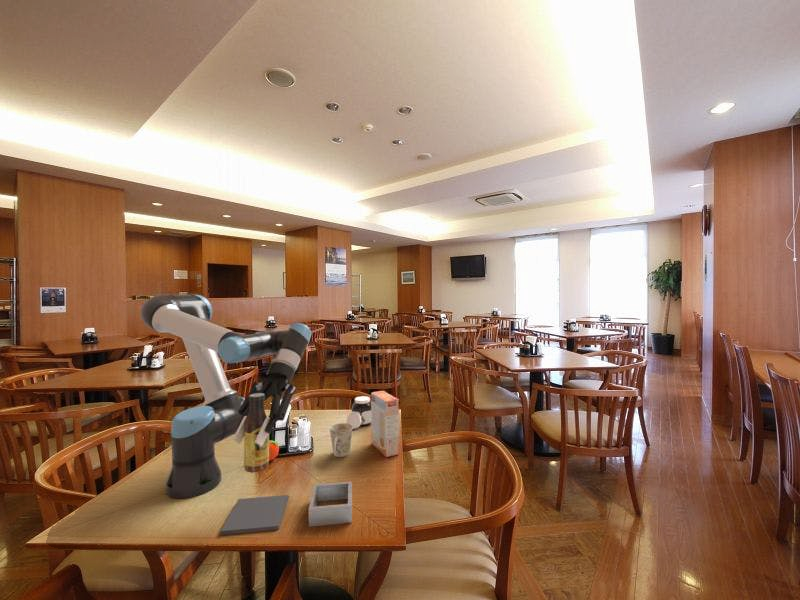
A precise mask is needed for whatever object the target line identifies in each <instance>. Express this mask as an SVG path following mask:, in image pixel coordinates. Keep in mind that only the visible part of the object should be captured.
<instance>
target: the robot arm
mask: <svg viewBox="0 0 800 600" xmlns="http://www.w3.org/2000/svg"><path fill="white" fill-rule="evenodd" d="M139 315H140V319H141V322H143V324H144V325H145V326H146V327H147V328H148V329H149V328H150V329H151V330H153V331H156V332H158V333H161V334H164V333H165V334H166V333H169V334H172V335H174V336H176V337H179V338H181V339H182V341H183V343H184V347H185V350H186V353H187V355H188V358H189V360H190V364H191V365H192V368H193V371H194V373H195V376H196V379H197V382H198V384H199V387H200V389H201V392H202V395H203V397H204V402H203V404H202V405H198V406H195V407H190V408H187V409H184V410H183V411H180V412H178V413H177V414H176V415H175V416H174V417H173V419H172V420H171V426H170V427H171V429H170V436H171V461H172V462H171V468H170V470H169V471H170V472H169V475H168V478H167V480H166V483H165V494H166V495H167V496H168V497H170V498H174V499H188V498H191V497H196V496H200V495H203V494H205V493H208V492H210V491H211V490H213V489H214V488H216V487H217V486H218V485H219V484H220V483H221V481H222V471H221V469H220V465H219V463H218V460H217V458H216V456H215V455H216V454H215V452H216V451H215V450H216V449H215V444H217V443H219V442H221V441H224V440H225V439H227V438H230V437H231V436H233V438H232V441H234V442H235V443H237V444H238V445H239V444H241V443H242V441H243V440H244V431H245V420H246V418H247V416H248V414H249V408H250V402H249V395H251V394H256V393H263V394H265V399H264V402H265V401H267V400H268V399H269V398H271V403H270V404H271V406H270V410H269V415H267V418H266V419H265V421H264V423H263V425H262V427H261V430H260V432H259V434H258V436H257V438H256V440H255V443H257V444H258V445H259V446H263V444H264V442H265V439H266V437H267V435H268V433H269V434H271V432H272V431H273V428H274V426H275V425H276V423H277V422H278V421H284V420H285V417H286V415H287V412H288V409H289V407H290V403H291V400H292V398H293V396H294V394H295V393H296V391H297V388H296V387H295V386H294V385H293V384H292V383H291V382H292V380H293V378H294V376H295V372H296V371H297V369H298V367H299V364H300V362H301V360H302V358H303V356H304V354H305V351H306V349H307V347H308V345H309V344H310V340H311V337H312V330H311V329H310V327H309V326H307V325H306V324H304V323H301V322H293V323H292V324H290V326H289V327H288V330H280V331H279V330H278V331H277V330H276V331H275V330H273V331H271V330H269V331H268V330H263V331H257V332H255V333H252V334H251V333H250V334H249V333H248V334H241V333H238V332H235V331H233V330H231V329H228V328H226V327H223V326H220V325H217V324H215V323H212V322H211V319H212V317H213V306H212V304H211V303H210V301H209V300H208V299H207V298H206V297H204V296H203V295H200V294H193V293H185V294H165V293H163V294H158V295H153V296H151V297H150V298H147V300H146V301H145V302H144V303H142V306H141V308H140V314H139ZM268 355H275V356H274V357H273V359H272V361H271V362H272V363H270V366H269V368H268V369H267V370H266V371H267V372H266V373H265V374H266V375H265V378H264V379H263V380H262V382H257V381H254V382H252V385H251V389H250V390H249V392H248V394H247V395H246V397H242V396H239V394H238V391H237V390H234V389H232V388H231V386H230V383H229V380H228V379H227V376H226V374H225V370H224V368H223V366H222V363H221V360H222V362H224V363H226V364H237V363H242V362H246V361H249V360H252V359H257V358H262V357H265V356H268ZM220 359H221V360H220ZM283 393H284V394H283Z"/></svg>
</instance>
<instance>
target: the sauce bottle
mask: <svg viewBox="0 0 800 600" xmlns="http://www.w3.org/2000/svg"><path fill="white" fill-rule="evenodd" d="M264 399H265V394H263V393H256V394H251V395H249V402H250V408H249V414H248V416H247V418H246V420H245V431H244V437H243V440H244V443H243V444H244V445H243V446H244V448H243V449H244V450H243V451H244V454H243V456H244V457H243V458H244V461H243V462H244V470H245V471H246V472H248V473H258V472H262V471H264V470H266V469H267V468H268V466H269V465H270V464H269V463H270V461H269V440H270V433H268V435H267V437H266V439H265V442H264V444H263V446H259V445H258V444H257V443H255V440H256V438H257V436H258V434H259V432H260V430H261V427H262V425H263V423H264V421H265V419H266V418H268V416H267V414H266V411H265V401H264Z"/></svg>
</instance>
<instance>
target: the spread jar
mask: <svg viewBox="0 0 800 600" xmlns="http://www.w3.org/2000/svg"><path fill="white" fill-rule="evenodd" d="M370 398H371V397H369V396H356V397H355V398H354V403H353V404H352V407H351V412H350V413H349V414H348V415H347V417H346V423H347V424H350V425H352V430H354V429H355V430H357V429H358V428H359V427H367V426H369V425H371V399H370Z"/></svg>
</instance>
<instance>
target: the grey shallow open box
mask: <svg viewBox="0 0 800 600" xmlns="http://www.w3.org/2000/svg"><path fill="white" fill-rule="evenodd" d="M312 487H313V488H312V492H311V496H310V501H309V506H308V527H319V526H329V525H330V526H331V525H341V524H351V523H353V482H352V481H344V482H343V481H342V482H330V483H328V482H327V483H320V484H319V483H315V484H313V486H312ZM337 500H341V501H342V500H347V503H342V504H329V505H319V506H317V504H318V502H327V501H337Z"/></svg>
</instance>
